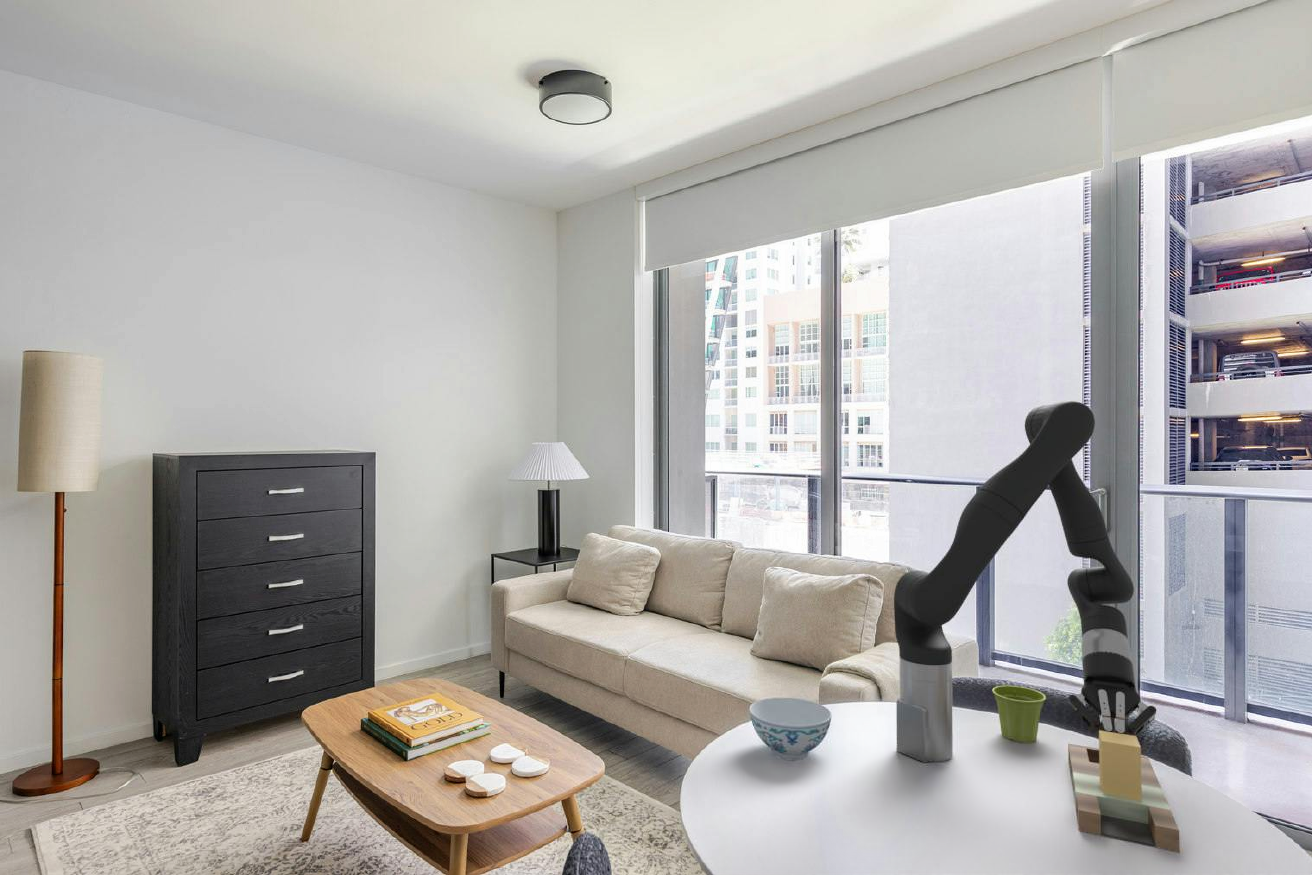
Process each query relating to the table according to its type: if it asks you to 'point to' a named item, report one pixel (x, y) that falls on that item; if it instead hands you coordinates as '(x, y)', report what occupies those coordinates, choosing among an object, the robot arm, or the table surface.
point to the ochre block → (1120, 765)
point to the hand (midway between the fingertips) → (1116, 757)
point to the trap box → (1120, 804)
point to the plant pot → (1019, 712)
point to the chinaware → (790, 725)
